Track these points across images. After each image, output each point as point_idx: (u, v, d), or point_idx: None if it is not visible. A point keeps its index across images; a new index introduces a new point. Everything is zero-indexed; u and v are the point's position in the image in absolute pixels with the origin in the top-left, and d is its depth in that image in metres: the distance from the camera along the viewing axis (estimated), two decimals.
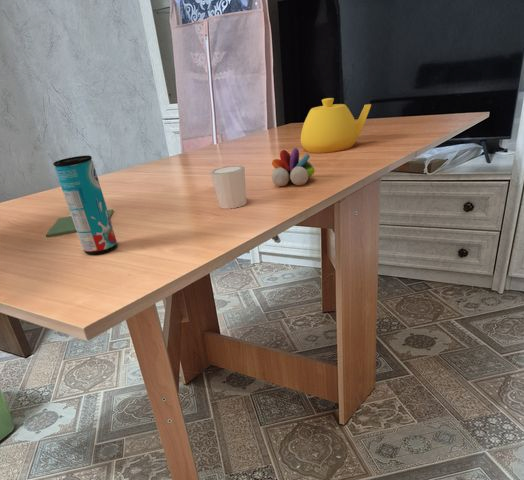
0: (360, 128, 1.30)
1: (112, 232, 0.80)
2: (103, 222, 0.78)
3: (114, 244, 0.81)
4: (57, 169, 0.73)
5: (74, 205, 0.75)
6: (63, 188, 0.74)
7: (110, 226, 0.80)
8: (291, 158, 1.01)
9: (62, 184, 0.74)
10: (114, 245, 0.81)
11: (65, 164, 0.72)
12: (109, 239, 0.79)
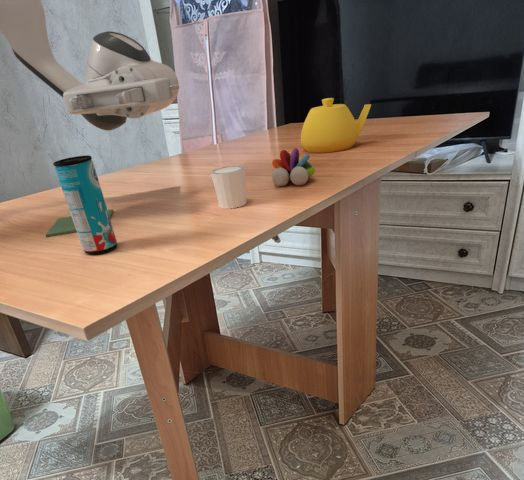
0: (360, 128, 1.30)
1: (112, 232, 0.80)
2: (103, 222, 0.78)
3: (114, 244, 0.81)
4: (57, 169, 0.73)
5: (74, 205, 0.75)
6: (63, 188, 0.74)
7: (110, 226, 0.80)
8: (291, 158, 1.01)
9: (62, 184, 0.74)
10: (114, 245, 0.81)
11: (65, 164, 0.72)
12: (109, 239, 0.79)
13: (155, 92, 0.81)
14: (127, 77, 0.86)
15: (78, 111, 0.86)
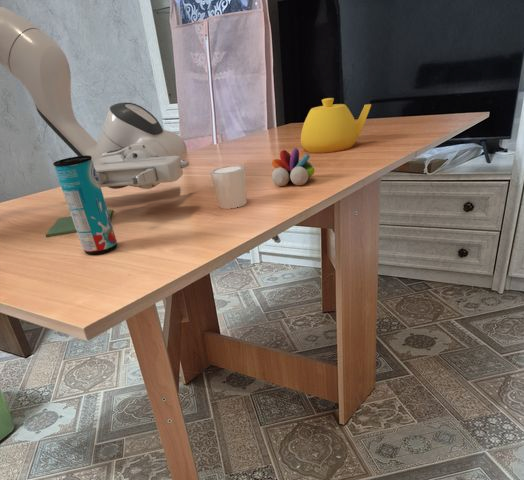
0: (360, 128, 1.30)
1: (112, 232, 0.80)
2: (103, 222, 0.78)
3: (114, 244, 0.81)
4: (57, 169, 0.73)
5: (74, 205, 0.75)
6: (63, 188, 0.74)
7: (110, 226, 0.80)
8: (291, 158, 1.01)
9: (62, 184, 0.74)
10: (114, 245, 0.81)
11: (65, 164, 0.72)
12: (109, 239, 0.79)
13: (167, 172, 0.86)
14: (140, 154, 0.92)
15: None
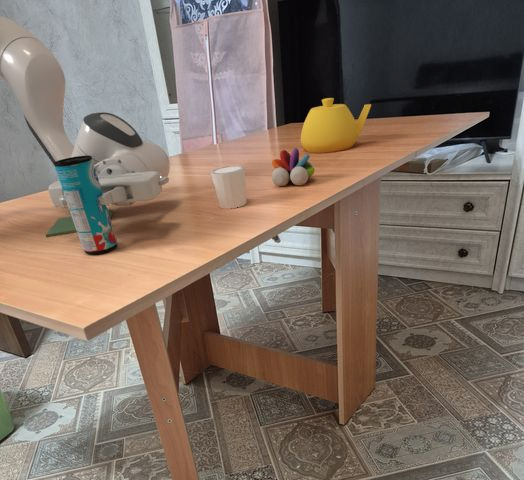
0: (360, 128, 1.30)
1: (112, 232, 0.80)
2: (103, 222, 0.78)
3: (114, 244, 0.81)
4: (57, 169, 0.73)
5: (74, 205, 0.75)
6: (63, 188, 0.74)
7: (110, 226, 0.80)
8: (291, 158, 1.01)
9: (62, 184, 0.74)
10: (114, 245, 0.81)
11: (65, 164, 0.72)
12: (109, 240, 0.79)
13: (143, 191, 0.78)
14: (115, 170, 0.83)
15: None
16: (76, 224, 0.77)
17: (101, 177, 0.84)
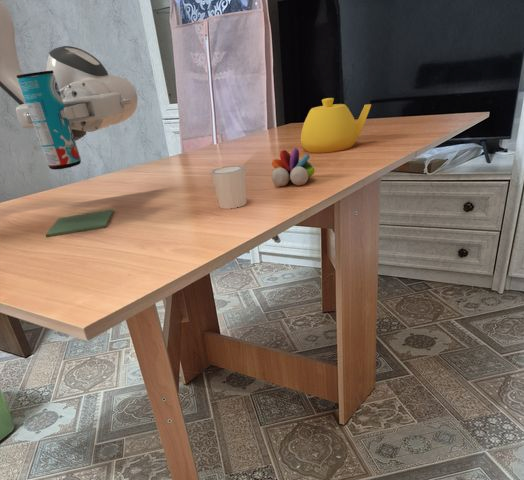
0: (360, 128, 1.30)
1: (75, 148, 0.84)
2: (66, 136, 0.82)
3: (77, 160, 0.85)
4: (20, 80, 0.77)
5: (37, 117, 0.79)
6: (26, 100, 0.78)
7: (73, 142, 0.84)
8: (291, 158, 1.01)
9: (25, 96, 0.78)
10: (77, 161, 0.85)
11: (27, 74, 0.76)
12: (72, 155, 0.84)
13: (104, 107, 0.82)
14: (79, 92, 0.88)
15: (30, 125, 0.87)
16: (40, 138, 0.81)
17: (66, 100, 0.89)
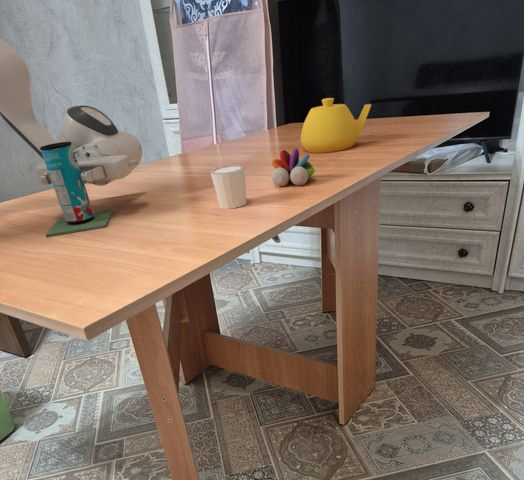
0: (360, 128, 1.30)
1: (89, 206, 0.97)
2: (81, 197, 0.94)
3: (91, 216, 0.97)
4: (43, 152, 0.89)
5: (57, 182, 0.91)
6: (48, 168, 0.91)
7: (88, 201, 0.96)
8: (291, 158, 1.01)
9: (47, 165, 0.90)
10: (91, 217, 0.97)
11: (49, 148, 0.88)
12: (86, 212, 0.96)
13: (114, 170, 0.94)
14: (92, 153, 0.99)
15: None
16: (59, 198, 0.94)
17: (81, 160, 1.00)
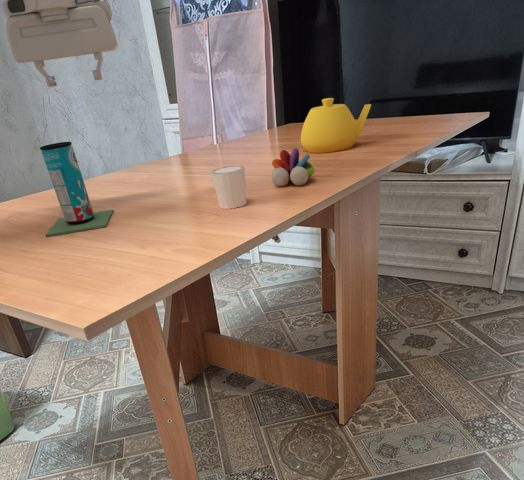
0: (360, 128, 1.30)
1: (89, 206, 0.97)
2: (81, 197, 0.94)
3: (91, 216, 0.97)
4: (43, 152, 0.89)
5: (57, 182, 0.91)
6: (48, 168, 0.91)
7: (88, 201, 0.96)
8: (291, 158, 1.01)
9: (47, 165, 0.90)
10: (91, 217, 0.97)
11: (49, 148, 0.88)
12: (86, 212, 0.96)
13: (112, 50, 0.94)
14: (61, 19, 0.88)
15: None
16: (59, 198, 0.94)
17: (47, 24, 0.89)
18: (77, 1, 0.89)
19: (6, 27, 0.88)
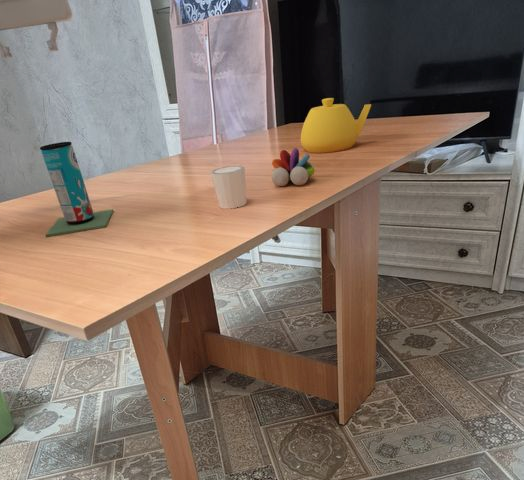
0: (360, 128, 1.30)
1: (89, 206, 0.97)
2: (81, 197, 0.94)
3: (91, 216, 0.97)
4: (43, 152, 0.89)
5: (57, 182, 0.91)
6: (48, 168, 0.91)
7: (88, 201, 0.96)
8: (291, 158, 1.01)
9: (47, 165, 0.90)
10: (91, 217, 0.97)
11: (49, 148, 0.88)
12: (86, 212, 0.96)
13: (67, 20, 0.93)
14: None
15: None
16: (59, 198, 0.94)
17: None
18: None
19: None
